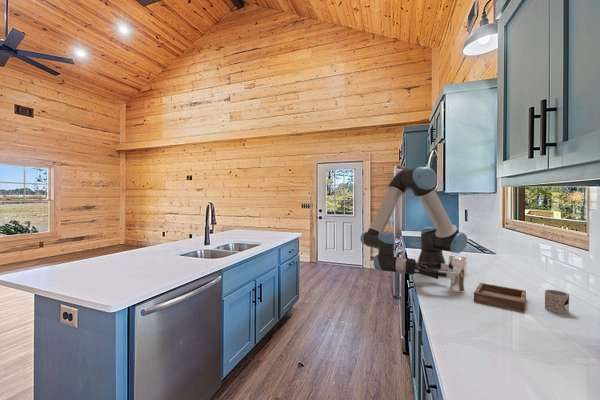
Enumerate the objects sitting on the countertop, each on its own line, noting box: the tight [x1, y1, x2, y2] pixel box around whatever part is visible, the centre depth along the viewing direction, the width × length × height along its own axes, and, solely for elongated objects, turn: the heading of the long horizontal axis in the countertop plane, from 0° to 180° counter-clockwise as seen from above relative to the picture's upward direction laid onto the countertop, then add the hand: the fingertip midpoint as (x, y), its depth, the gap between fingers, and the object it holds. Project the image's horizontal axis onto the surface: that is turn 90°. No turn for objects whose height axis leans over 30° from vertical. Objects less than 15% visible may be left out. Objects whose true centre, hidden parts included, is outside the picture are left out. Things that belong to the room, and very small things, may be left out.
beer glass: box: [448, 255, 467, 293], centre depth 126 cm, size 7×7×15 cm
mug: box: [544, 289, 570, 315], centre depth 106 cm, size 10×7×7 cm
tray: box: [473, 282, 527, 313], centre depth 115 cm, size 16×16×4 cm
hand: (456, 271), depth 126 cm, fingers open, 13 cm apart
